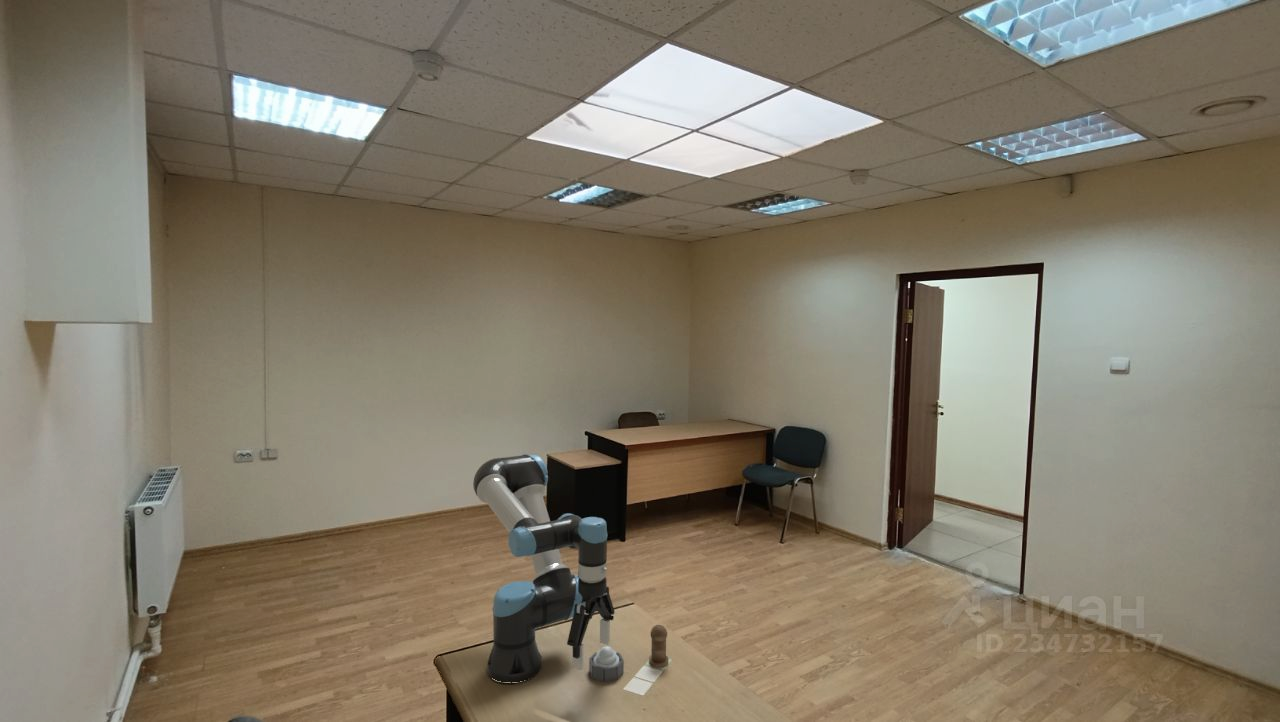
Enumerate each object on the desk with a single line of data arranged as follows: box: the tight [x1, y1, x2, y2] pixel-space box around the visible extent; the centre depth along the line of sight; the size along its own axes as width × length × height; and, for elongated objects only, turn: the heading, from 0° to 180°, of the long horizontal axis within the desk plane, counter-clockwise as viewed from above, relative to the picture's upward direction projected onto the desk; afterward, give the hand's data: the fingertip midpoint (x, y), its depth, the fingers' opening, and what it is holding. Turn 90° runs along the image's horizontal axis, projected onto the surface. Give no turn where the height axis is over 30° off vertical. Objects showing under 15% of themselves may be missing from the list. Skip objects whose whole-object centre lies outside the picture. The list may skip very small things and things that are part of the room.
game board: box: [622, 657, 673, 696], centre depth 159 cm, size 9×20×1 cm, turn 153°
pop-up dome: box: [594, 645, 619, 668], centre depth 160 cm, size 7×7×6 cm
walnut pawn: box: [648, 624, 669, 669], centre depth 165 cm, size 6×6×11 cm
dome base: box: [588, 651, 625, 683], centre depth 160 cm, size 9×9×4 cm
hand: (591, 655), depth 153 cm, fingers open, 13 cm apart
